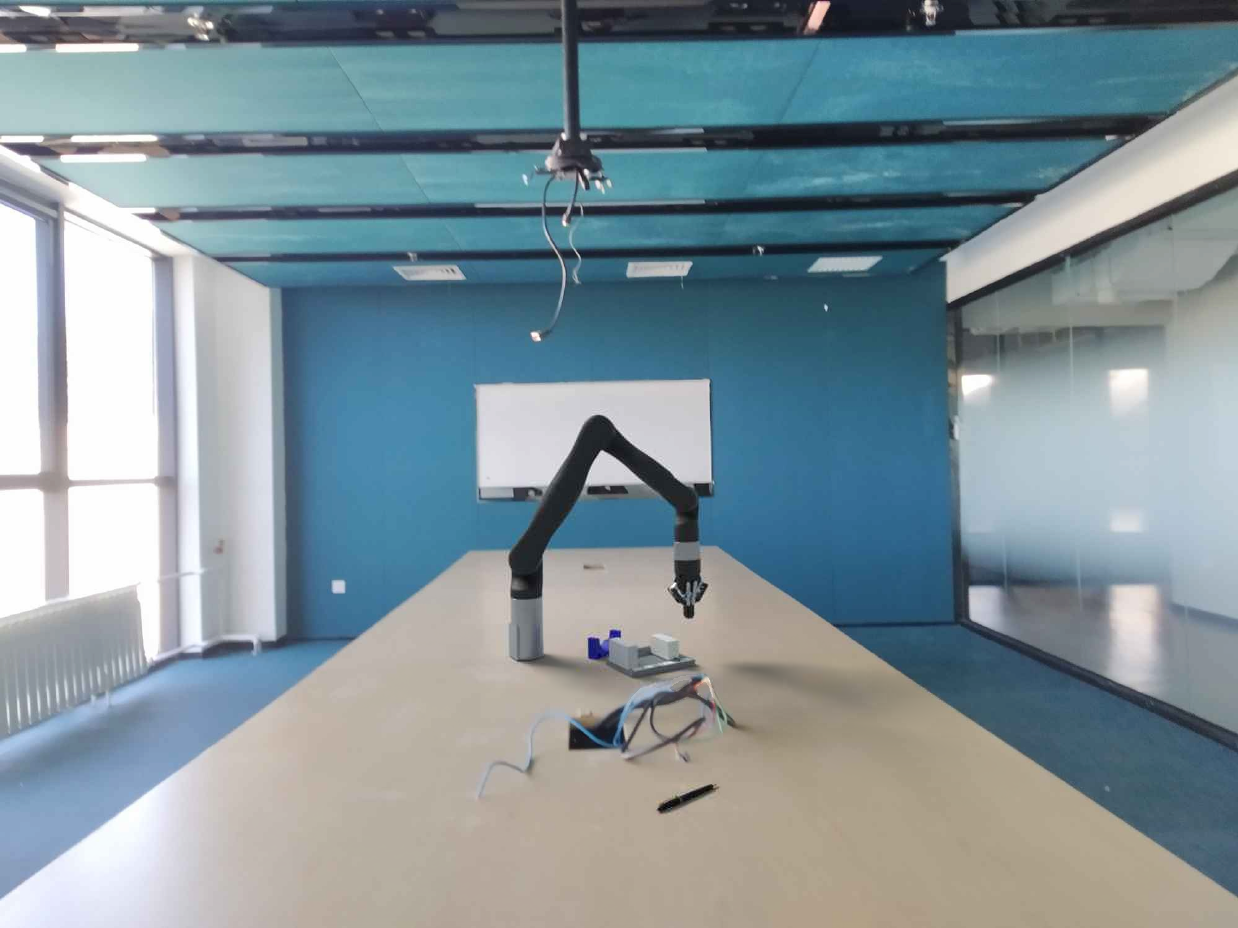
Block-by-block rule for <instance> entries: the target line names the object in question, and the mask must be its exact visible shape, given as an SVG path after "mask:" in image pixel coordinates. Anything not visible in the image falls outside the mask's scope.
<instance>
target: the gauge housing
mask: <svg viewBox="0 0 1238 928" xmlns="http://www.w3.org/2000/svg"><path fill="white" fill-rule="evenodd" d="M608 639H609V638H608ZM608 657H609V658H606V659H605V665H606V666H608V667H610V668H612V669H614V670H616V671H618V672H620V673H622V674H623V675H626V676H628V677H630V678H632V679H633V678H637V677H638V678H639V677H641V676H642V677H643V676H647V675H652V674H657V673H663V672H667V671H672V670H677V669H682V668H688V667H692V666H693V667H694V666H695V665H696V659H695V658H691V657H689V656H687V655H684V654H681V653H679V659H681V661H677V660H675V659H674V660H666V659H664V658H661V657H659V656H657V655H654V654H652V653H651V644H649V645H643V646H638V644H636V643H635V644H634V643H632V642H630V641H628V640H625V639H623V638H622V637H621V638H619V637H618V638H612V639H609V655H608Z"/></svg>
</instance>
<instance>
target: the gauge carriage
mask: <svg viewBox="0 0 1238 928" xmlns="http://www.w3.org/2000/svg"><path fill="white" fill-rule="evenodd" d="M649 638H650V645H651V653H652V654H654V655H657V656H659V657H661V658H664V659H666V660H674V659H675V660H677V661H681V659H679V652H680V651H679V646H680V645H679V640H678V639H677V638H674V637H670V636H667V635H666V634H663V633H661V632H660V633H657V634H650V637H649Z"/></svg>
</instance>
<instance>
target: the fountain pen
mask: <svg viewBox="0 0 1238 928" xmlns="http://www.w3.org/2000/svg"><path fill="white" fill-rule="evenodd" d="M718 784H719V783H718V782H717V783H714V784H713V783H709V784H707V785H705V786H702V787H699V788H697V789H694V790H691V791H688V792H687V793H684V794H681V795H674V796H671V797H669V798H667V799H666V800H663V801H661V802H660V803H658V807H657V809H656V811H658V812H662V811H661V810H664V811H667V810H669V809H668V808H670V809H672V808H671V807H673V808H674V806H675V807H676V805H677V806H680V805H682V804H684V803H686V802H687V800H688V801H690V800H692V799H695V798H697V797H699V796H700V794H701V795H703V794H705V793H707V792H709V791H711V790H713V789H714V787H715V786H716V787H717V785H718ZM712 788H713V789H712ZM708 790H709V791H708ZM704 792H705V793H704ZM702 793H703V794H702ZM698 795H699V796H698ZM696 796H697V797H696ZM691 798H692V799H691ZM685 801H686V802H685ZM681 803H682V804H681ZM679 804H680V805H679ZM666 809H667V810H666Z"/></svg>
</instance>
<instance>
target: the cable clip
mask: <svg viewBox="0 0 1238 928" xmlns="http://www.w3.org/2000/svg"><path fill="white" fill-rule="evenodd" d="M618 637H619V638H621V639H622V631H621V630H619V629H613V628H612V629H610V630H609V635H608V638H607V639H603V641H602V643H601V642H600V641H601V640H600V638H598V637H593V636H589V637H587V658H588V659H589V660H594V661H598V660H600V659H603V658H605V657H607V655H608V656H609V639H612V638H618Z"/></svg>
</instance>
